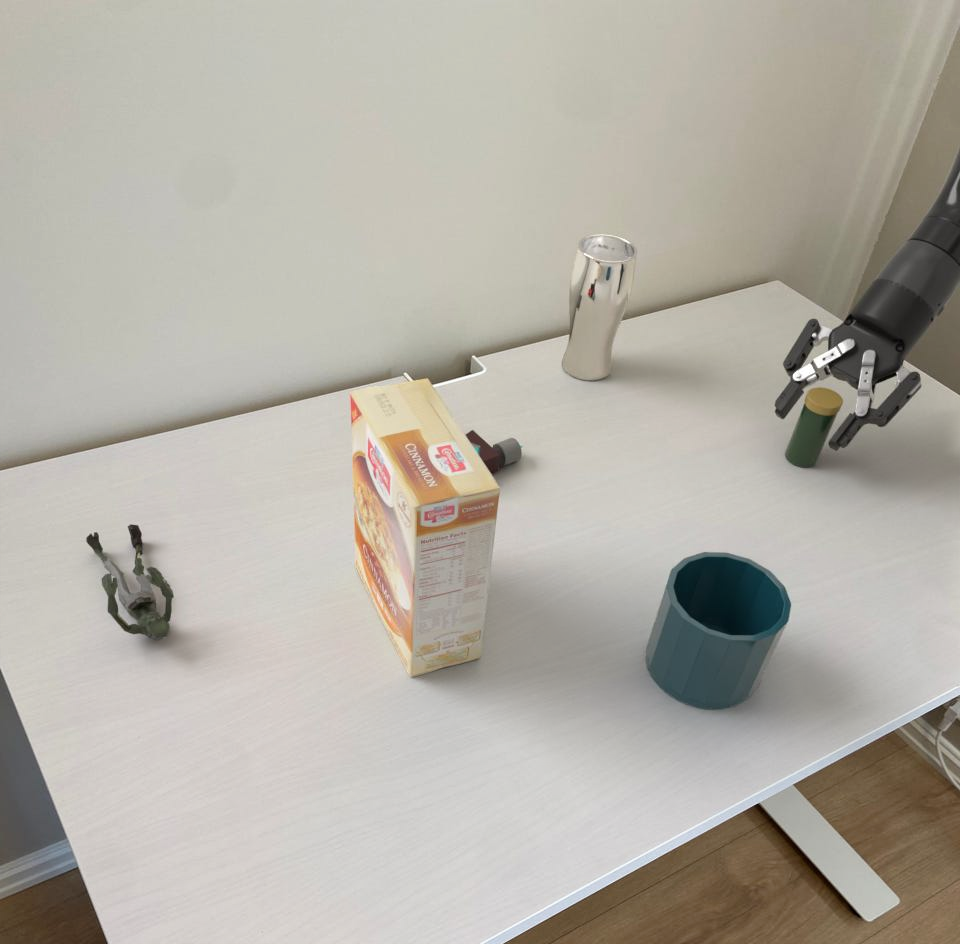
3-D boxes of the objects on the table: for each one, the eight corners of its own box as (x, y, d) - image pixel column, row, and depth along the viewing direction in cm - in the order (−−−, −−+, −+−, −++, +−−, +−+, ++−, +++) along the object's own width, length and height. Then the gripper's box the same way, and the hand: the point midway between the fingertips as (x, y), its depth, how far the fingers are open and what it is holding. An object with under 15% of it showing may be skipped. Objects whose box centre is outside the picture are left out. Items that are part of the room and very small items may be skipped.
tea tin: (819, 452, 109) (844, 392, 103) (815, 472, 107) (841, 411, 101) (786, 443, 110) (809, 383, 104) (781, 462, 107) (805, 402, 101)
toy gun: (531, 463, 104) (536, 426, 100) (438, 500, 98) (441, 462, 95) (479, 416, 109) (482, 379, 105) (388, 449, 103) (388, 411, 100)
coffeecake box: (352, 565, 91) (346, 388, 77) (422, 548, 93) (430, 374, 79) (407, 680, 82) (413, 506, 68) (483, 659, 85) (504, 486, 70)
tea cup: (765, 641, 89) (797, 572, 82) (749, 724, 82) (782, 655, 75) (658, 609, 90) (680, 539, 84) (634, 688, 84) (656, 618, 77)
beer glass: (624, 364, 118) (649, 246, 107) (598, 390, 114) (621, 269, 103) (574, 344, 120) (594, 226, 109) (547, 368, 116) (565, 248, 105)
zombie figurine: (131, 484, 86) (179, 597, 78) (143, 540, 91) (189, 652, 83) (69, 498, 84) (111, 615, 76) (84, 555, 89) (126, 670, 81)
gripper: (842, 253, 101) (743, 387, 104) (966, 312, 95) (857, 454, 98) (851, 285, 108) (758, 411, 111) (967, 343, 101) (865, 475, 104)
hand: (805, 431), depth 104 cm, fingers open, 6 cm apart
